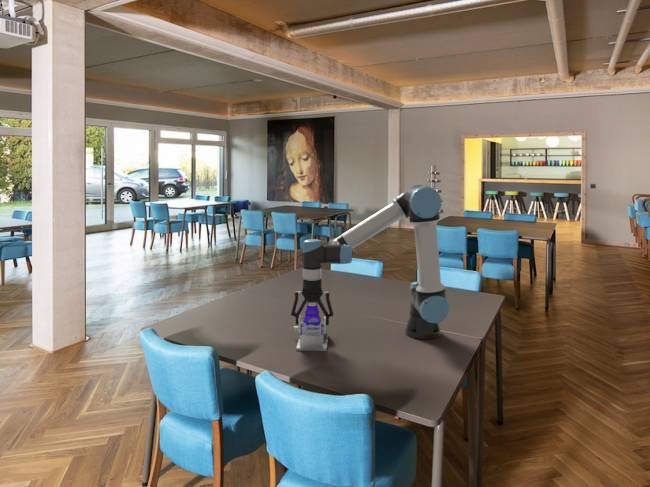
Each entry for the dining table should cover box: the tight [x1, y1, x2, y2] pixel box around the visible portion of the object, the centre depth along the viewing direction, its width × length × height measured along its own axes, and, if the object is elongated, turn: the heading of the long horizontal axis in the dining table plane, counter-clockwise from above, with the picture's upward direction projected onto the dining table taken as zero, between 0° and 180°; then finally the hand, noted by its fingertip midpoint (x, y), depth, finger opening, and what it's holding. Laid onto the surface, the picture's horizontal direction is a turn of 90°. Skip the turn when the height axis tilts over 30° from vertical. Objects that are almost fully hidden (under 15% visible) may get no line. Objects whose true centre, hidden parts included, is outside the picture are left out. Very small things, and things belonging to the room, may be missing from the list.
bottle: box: [302, 301, 322, 335], centre depth 195 cm, size 7×6×17 cm
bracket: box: [295, 327, 329, 352], centre depth 196 cm, size 12×11×6 cm
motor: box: [293, 319, 329, 340], centre depth 205 cm, size 14×6×7 cm, turn 88°
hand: (312, 332), depth 196 cm, fingers open, 9 cm apart
